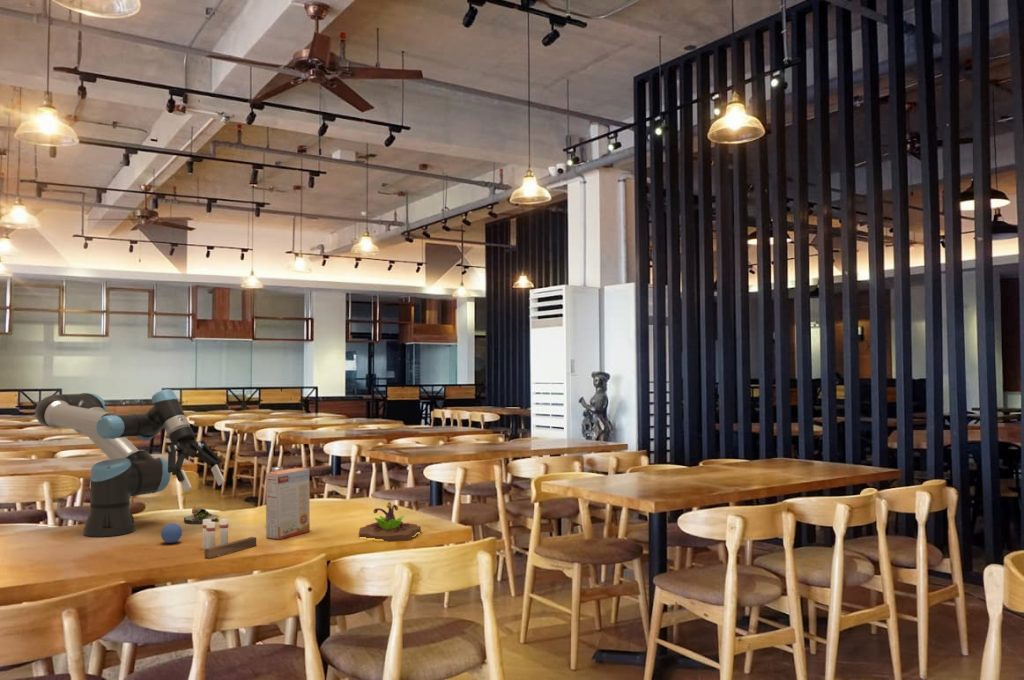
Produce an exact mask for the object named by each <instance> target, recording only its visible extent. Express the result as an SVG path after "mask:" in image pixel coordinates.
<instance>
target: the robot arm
mask: <svg viewBox="0 0 1024 680" xmlns="http://www.w3.org/2000/svg"><path fill="white" fill-rule="evenodd" d="M151 404H152V407H151V408H150V409H149V410H147V411H146V412H145V413H144V412H141V413H130V414H128V413H127V414H117V413H112V412H107V406H105V405H106V402H105V401H104V399H103V398H102V397H101V396H99V395H98V394H96V393H90V392H87V393H86V392H83V393H71V394H70V393H69V394H68V393H67V394H63V393H62V394H52V395H48V396H45V397H44V398H42V399H41V400H39V402H38V403H37V405H36V407H35V411H34V415H35V418H36V420H37V421H38V423H40V425H42V426H44V427H47V428H52V429H53V428H54V429H60V428H68V429H72V430H74V431H75V433H77V434H79V435H82V436H83V435H85V436H86V437H87V438H89V440H91V441H92V443H94V445H96V446H97V448H99V450H100V451H102V452H103V454H104V455H105V456H107V458H108V459H105V460H102V461H98V462H96V463H95V464H93V465H92V466H91V469H90V470H91V471H90V477H89V479H90V497H89V499H90V500H89V501H90V505H89V506H90V507H89V513H88V515H87V518H86V521H85V524H84V526H83V535H84V536H87V537H94V538H95V537H96V538H97V537H102V538H103V537H114V536H122V535H126V534H129V533H130V534H131V533H133V532H135V531H136V521H135V518H134V515H133V513H132V510H131V507H130V504H131V497H136V496H142V495H143V496H144V495H149V494H155V493H160V492H162V491H164V490H165V489H166V488H167V487H168V485H169V482H170V480H171V477H172V476H176V479H177V481H178V482H179V483H180V485H181V486H182V488H183V490H184V493H185V492H188V491H189V490H190V489H192V488H193V486H192V485H191V482H190V481H189V477H188V475H187V474H186V471H185V470H184V469H182V467H183V464H184V461H185V458H188V457H195V458H198V459H200V460H201V461H202V462H203V463H205V464H206V465H208V466H210V467H211V468H210V471H211V473H212V475H213V477H214V478H215V481H216V484H217V485H218V486H222V484H224V482H226V480H225V478H224V475H223V474H222V473H223V471H222V468H221V467H220V464H221V463H222V462H223V459H221V458H220V456H219V455H218V454H217V453H215V452H214V451H213V450H212V448H210V447H209V445H208V444H207V443H206V441H205V440H203V439H201V441H200V442H197V440H196V435H195V432H194V431H193V428H192V427H191V425H190V422H189V420H188V418H187V416H186V414H185V412H184V410H183V408H182V405H181V403H180V401H179V398H178V397H177V395H176V394H175V392H174V391H173V389H161V390H159V391H157V392H155V393H154V394H153V395H152V396H151ZM163 429H164V430H165V432H166V435H167V436H168V439H169V441H170V443H171V444H169V445H168V447H166V451H167V460H166V459H165V458H163V457H156V458H155V457H154V456H152V455H151V454H150V453H149V452H148V451H147V450H144V449H138V448H137V447H136V445H134V444H133V443H132V442H131V441H130V440H129V439H128V438H129V437H130V438H132V437H133V438H134V437H136V438H137V439H138V440H142V441H144V442H145V441H150V440H152V439H153V438H154V437H156V436H157V435H158V434H159V433H161V431H162V430H163ZM177 453H178V454H177ZM176 456H177V457H176ZM176 459H177V460H176Z"/></svg>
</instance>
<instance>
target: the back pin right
mask: <svg viewBox="0 0 1024 680" xmlns="http://www.w3.org/2000/svg"><path fill="white" fill-rule="evenodd" d="M206 531H207V535H206V549H207V548H211V547H215V546H216V521H211V522H207V527H206Z"/></svg>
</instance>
